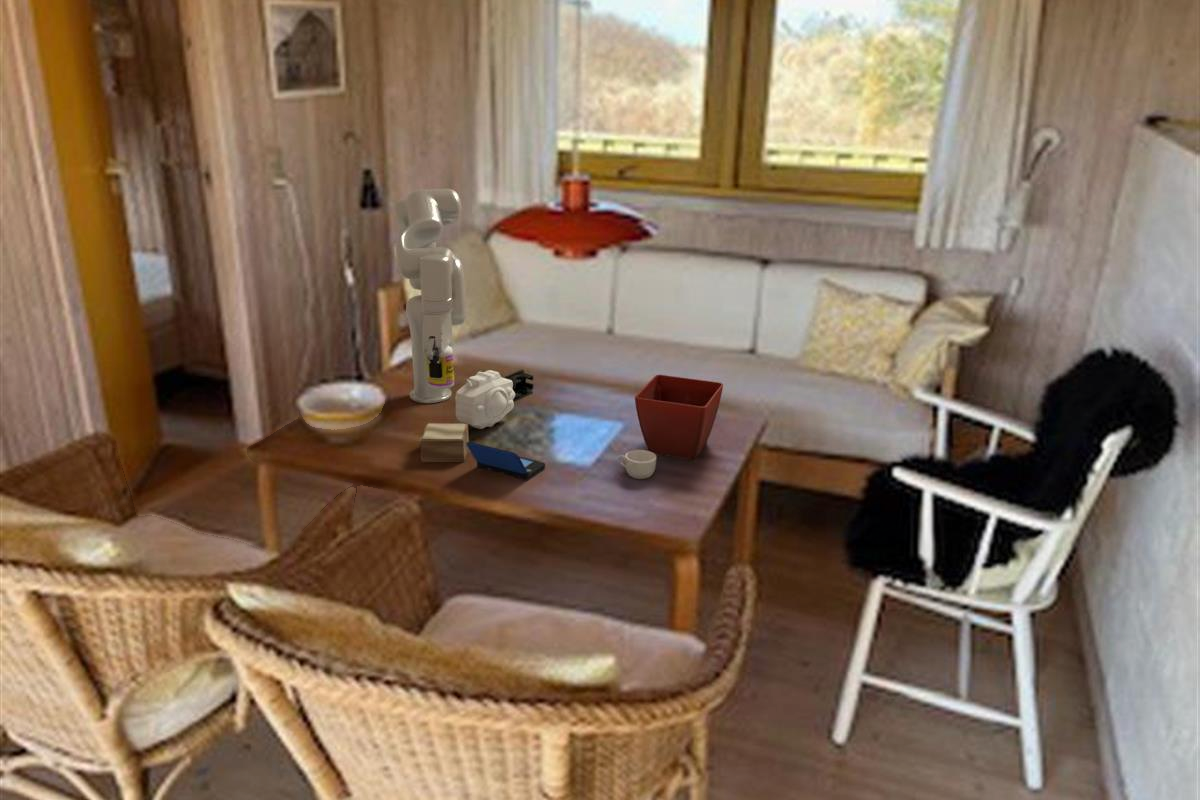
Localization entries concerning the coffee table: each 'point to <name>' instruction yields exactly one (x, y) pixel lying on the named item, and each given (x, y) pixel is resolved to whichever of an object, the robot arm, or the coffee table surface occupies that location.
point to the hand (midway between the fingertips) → (440, 372)
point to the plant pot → (677, 414)
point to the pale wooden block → (444, 443)
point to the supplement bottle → (443, 370)
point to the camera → (484, 399)
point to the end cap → (520, 384)
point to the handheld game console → (504, 461)
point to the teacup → (639, 463)
